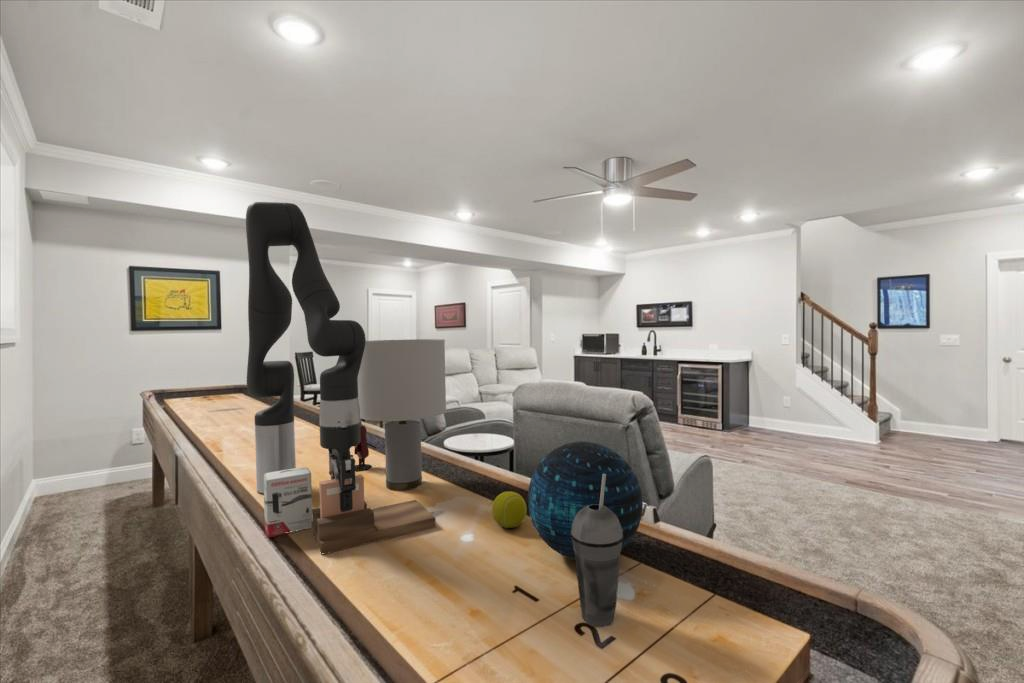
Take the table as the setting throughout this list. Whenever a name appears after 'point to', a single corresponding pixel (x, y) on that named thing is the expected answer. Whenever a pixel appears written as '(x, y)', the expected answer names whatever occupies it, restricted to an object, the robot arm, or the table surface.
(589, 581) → the beverage cup
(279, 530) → the ink box
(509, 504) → the tennis ball
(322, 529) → the block
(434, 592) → the table surface
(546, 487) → the decorative sphere
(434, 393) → the lamp
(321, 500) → the stub
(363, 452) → the figurine
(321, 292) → the robot arm
